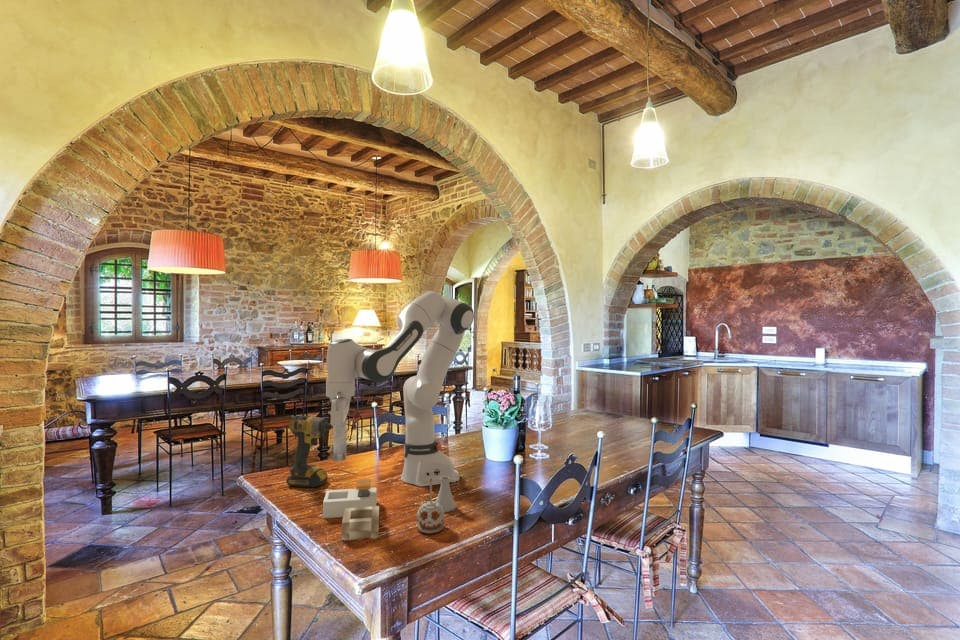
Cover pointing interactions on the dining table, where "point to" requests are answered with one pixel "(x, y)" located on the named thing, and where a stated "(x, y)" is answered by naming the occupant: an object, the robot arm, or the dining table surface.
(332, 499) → the socket block
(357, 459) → the dining table surface
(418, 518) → the decorative ornament
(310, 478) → the cordless drill
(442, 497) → the flask
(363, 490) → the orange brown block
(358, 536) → the beige square holder
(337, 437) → the grey metallic cylinder
